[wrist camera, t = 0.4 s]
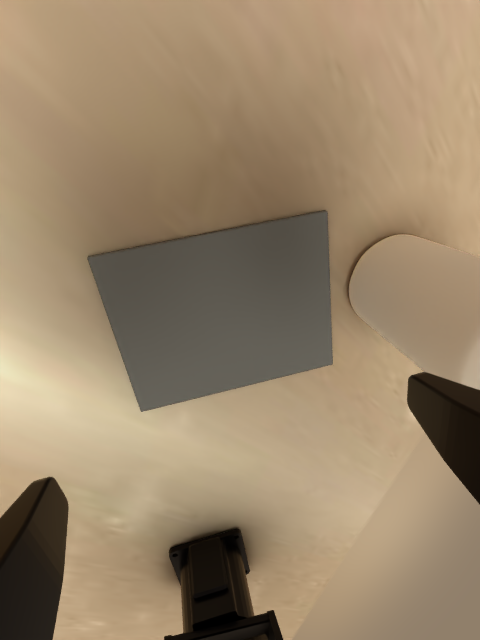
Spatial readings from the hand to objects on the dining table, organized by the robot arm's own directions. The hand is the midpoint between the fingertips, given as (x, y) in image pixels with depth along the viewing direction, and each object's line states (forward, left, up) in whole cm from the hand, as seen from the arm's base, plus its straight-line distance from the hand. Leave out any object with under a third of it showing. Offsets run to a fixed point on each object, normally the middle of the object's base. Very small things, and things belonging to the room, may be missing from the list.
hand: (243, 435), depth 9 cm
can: (-4, -13, -14) cm, 20 cm away
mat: (-4, -1, -14) cm, 15 cm away
